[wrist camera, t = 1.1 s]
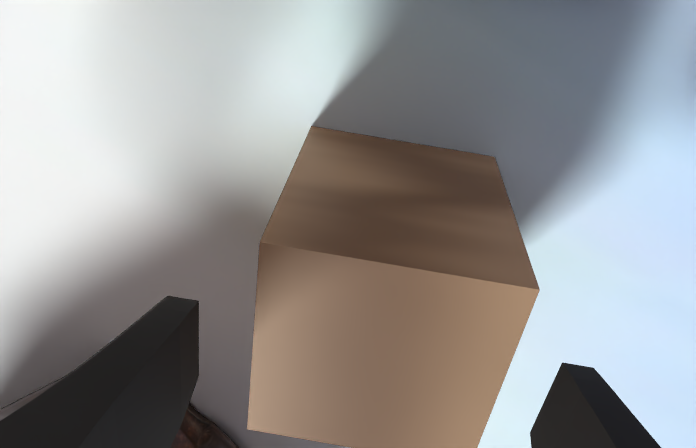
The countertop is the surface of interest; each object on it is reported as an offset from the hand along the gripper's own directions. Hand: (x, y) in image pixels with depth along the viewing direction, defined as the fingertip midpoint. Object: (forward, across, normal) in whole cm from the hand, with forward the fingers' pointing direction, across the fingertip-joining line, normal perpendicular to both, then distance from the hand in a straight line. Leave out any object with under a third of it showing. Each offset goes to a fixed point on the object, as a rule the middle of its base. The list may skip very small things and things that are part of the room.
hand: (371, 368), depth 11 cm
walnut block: (+6, 0, 0) cm, 6 cm away
